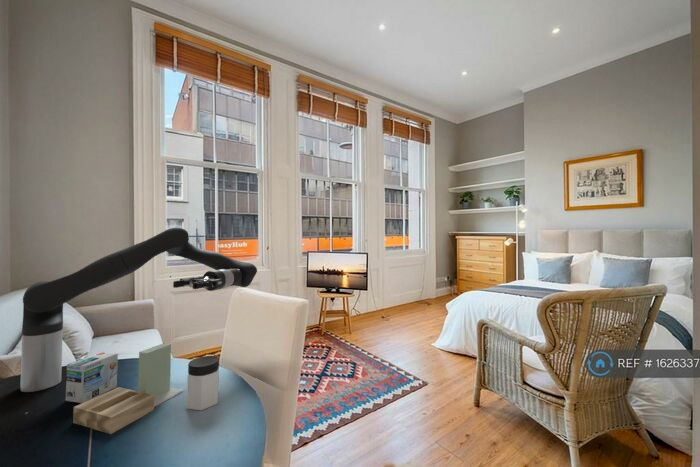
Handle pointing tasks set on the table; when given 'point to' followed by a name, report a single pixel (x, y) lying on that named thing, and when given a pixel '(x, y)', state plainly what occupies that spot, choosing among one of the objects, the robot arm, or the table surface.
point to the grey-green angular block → (155, 369)
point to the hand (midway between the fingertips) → (183, 285)
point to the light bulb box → (91, 377)
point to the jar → (203, 382)
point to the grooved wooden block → (113, 410)
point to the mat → (166, 396)
